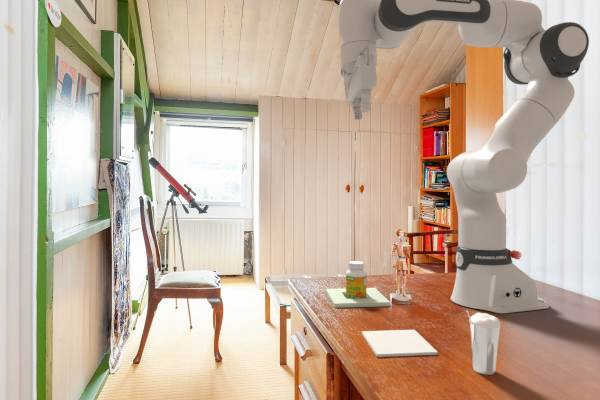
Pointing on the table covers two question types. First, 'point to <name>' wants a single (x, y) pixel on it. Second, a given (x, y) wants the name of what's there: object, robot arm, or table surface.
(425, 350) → the mat
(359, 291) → the supplement bottle
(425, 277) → the table surface
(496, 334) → the milkshake
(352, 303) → the well board
